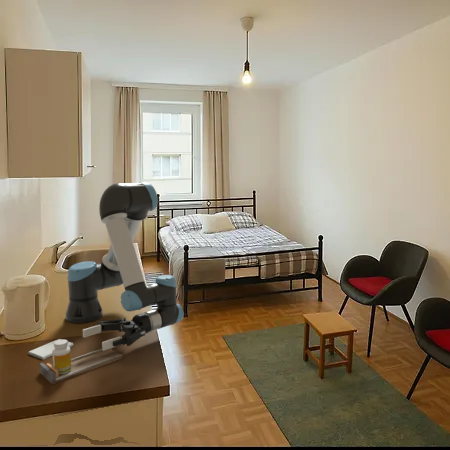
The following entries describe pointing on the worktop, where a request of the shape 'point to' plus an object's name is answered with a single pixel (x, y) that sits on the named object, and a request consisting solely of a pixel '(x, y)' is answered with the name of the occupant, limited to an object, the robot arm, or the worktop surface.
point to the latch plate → (52, 369)
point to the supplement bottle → (61, 356)
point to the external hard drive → (45, 350)
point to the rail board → (82, 364)
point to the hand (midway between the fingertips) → (92, 339)
